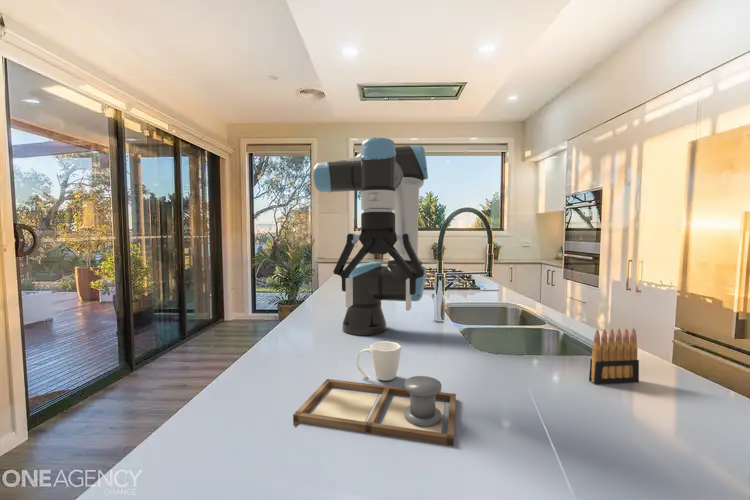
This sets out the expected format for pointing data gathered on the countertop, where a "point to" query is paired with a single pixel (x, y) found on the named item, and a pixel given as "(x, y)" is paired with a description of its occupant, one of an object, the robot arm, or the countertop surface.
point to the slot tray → (356, 406)
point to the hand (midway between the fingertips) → (378, 307)
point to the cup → (383, 359)
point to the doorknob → (422, 401)
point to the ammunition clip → (614, 358)
